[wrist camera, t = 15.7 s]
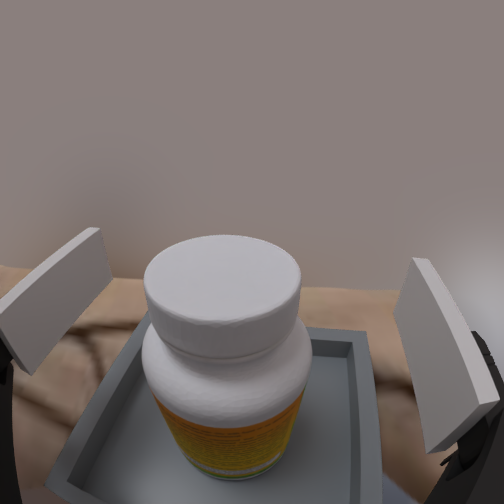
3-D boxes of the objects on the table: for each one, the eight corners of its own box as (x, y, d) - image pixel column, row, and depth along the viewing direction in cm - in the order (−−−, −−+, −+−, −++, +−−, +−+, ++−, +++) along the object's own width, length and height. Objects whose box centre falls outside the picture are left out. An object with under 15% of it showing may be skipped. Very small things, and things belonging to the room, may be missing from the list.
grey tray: (69, 499, 7) (43, 485, 6) (158, 331, 19) (151, 304, 18) (357, 563, 5) (379, 563, 4) (356, 357, 17) (365, 331, 16)
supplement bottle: (305, 462, 10) (377, 310, 6) (191, 492, 9) (107, 368, 4) (265, 382, 15) (279, 217, 10) (170, 402, 13) (123, 235, 8)
